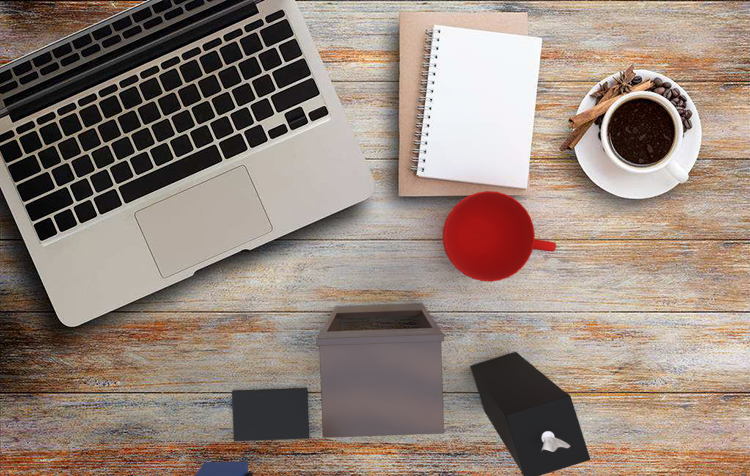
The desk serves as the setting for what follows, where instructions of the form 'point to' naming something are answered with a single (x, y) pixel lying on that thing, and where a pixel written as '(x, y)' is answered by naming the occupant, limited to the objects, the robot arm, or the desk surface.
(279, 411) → the mat
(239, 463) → the box
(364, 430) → the square planter pot
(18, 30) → the desk surface
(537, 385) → the tissue box
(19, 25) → the desk surface
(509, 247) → the ceramic cup
